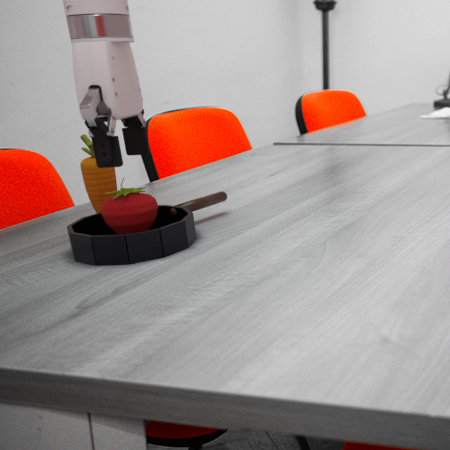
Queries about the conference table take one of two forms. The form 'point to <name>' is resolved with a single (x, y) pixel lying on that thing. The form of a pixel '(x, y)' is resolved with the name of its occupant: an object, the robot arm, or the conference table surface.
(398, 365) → the conference table surface
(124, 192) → the strawberry
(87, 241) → the pan
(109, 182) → the carrot
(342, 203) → the conference table surface
